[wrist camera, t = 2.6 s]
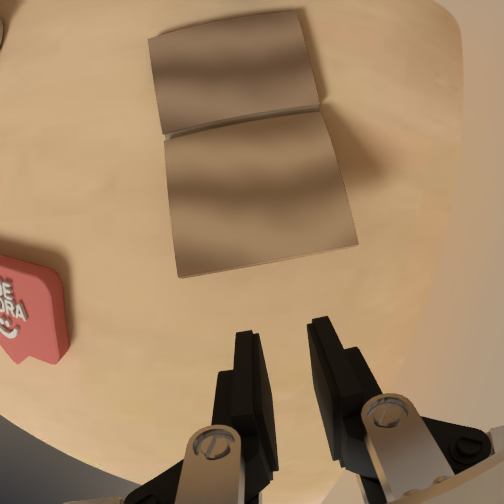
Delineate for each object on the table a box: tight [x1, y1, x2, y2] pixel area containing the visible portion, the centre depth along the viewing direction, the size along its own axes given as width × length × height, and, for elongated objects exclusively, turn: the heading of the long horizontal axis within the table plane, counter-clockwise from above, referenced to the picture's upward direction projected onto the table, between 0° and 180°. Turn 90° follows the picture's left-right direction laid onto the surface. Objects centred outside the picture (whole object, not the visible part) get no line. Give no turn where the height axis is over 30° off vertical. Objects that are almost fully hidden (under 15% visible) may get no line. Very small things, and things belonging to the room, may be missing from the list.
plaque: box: [0, 254, 69, 364], centre depth 30 cm, size 18×4×15 cm
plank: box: [164, 112, 359, 278], centre depth 24 cm, size 12×14×1 cm
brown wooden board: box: [148, 11, 320, 140], centre depth 24 cm, size 11×14×1 cm
